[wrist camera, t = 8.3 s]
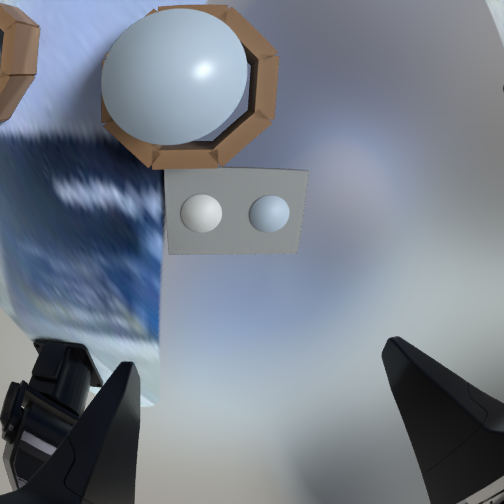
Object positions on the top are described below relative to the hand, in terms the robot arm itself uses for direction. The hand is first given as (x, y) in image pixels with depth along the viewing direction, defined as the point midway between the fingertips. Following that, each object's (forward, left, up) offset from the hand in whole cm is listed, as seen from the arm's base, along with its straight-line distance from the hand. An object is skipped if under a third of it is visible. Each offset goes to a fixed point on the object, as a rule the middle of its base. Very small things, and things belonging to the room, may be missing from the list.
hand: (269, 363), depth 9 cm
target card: (0, 0, -12) cm, 12 cm away
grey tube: (+9, +3, -12) cm, 15 cm away
